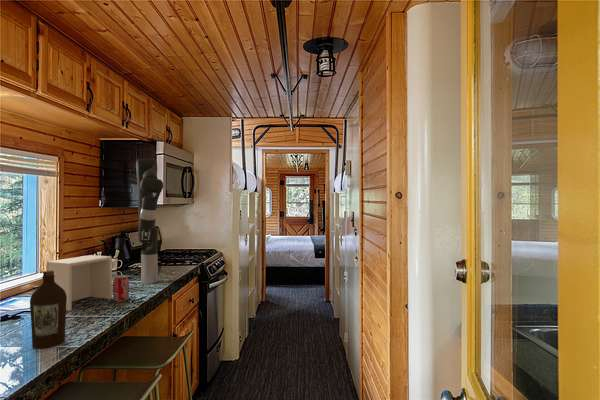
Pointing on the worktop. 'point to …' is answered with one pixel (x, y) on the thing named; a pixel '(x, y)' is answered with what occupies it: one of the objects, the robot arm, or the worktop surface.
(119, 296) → the soda can
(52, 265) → the cubby
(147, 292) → the worktop surface
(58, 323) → the olive oil
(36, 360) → the worktop surface
